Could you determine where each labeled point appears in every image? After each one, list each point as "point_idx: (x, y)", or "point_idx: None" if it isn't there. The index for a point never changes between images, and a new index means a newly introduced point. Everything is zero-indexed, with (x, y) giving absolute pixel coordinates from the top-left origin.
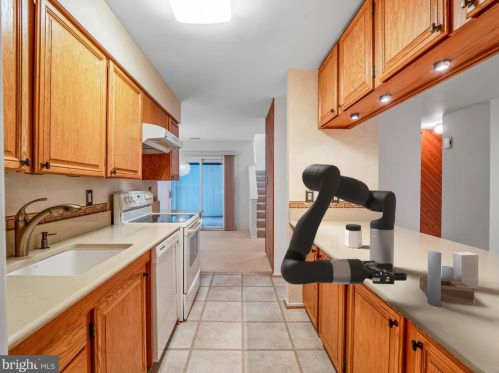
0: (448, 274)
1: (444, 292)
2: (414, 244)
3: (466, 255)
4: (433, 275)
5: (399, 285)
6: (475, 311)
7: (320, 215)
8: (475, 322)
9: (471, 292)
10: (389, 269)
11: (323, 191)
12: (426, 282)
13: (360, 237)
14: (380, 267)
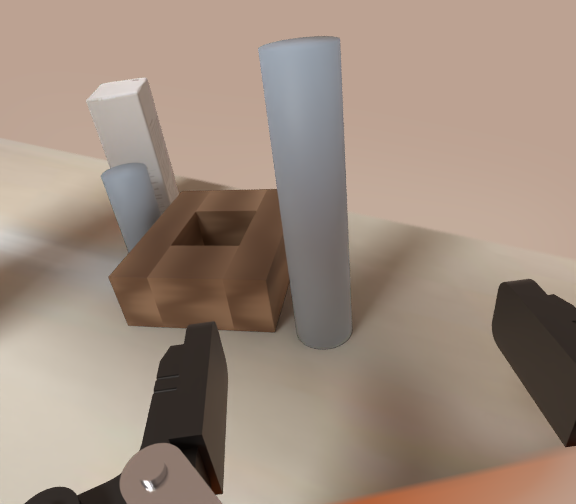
0: (148, 195)
1: (282, 256)
2: None
3: (141, 89)
4: (342, 195)
5: (75, 405)
6: (364, 243)
7: None
8: (465, 266)
9: None
10: (223, 387)
11: None
12: (202, 274)
13: None
14: (207, 473)
